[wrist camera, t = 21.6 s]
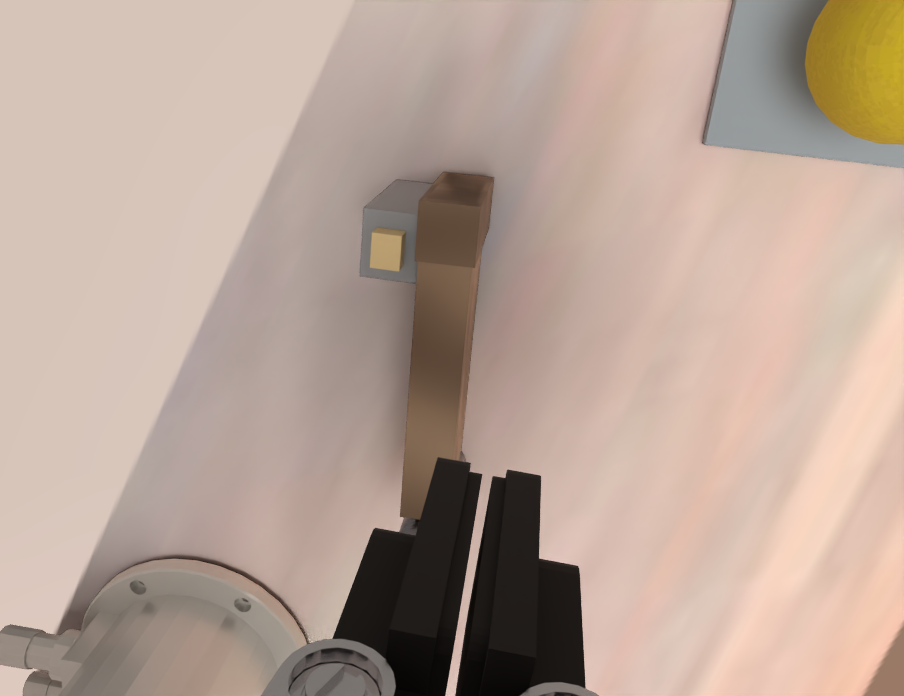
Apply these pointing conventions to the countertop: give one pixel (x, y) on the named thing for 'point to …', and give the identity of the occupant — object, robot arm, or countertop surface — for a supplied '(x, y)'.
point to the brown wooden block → (442, 326)
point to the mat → (778, 89)
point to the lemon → (859, 67)
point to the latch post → (392, 232)
